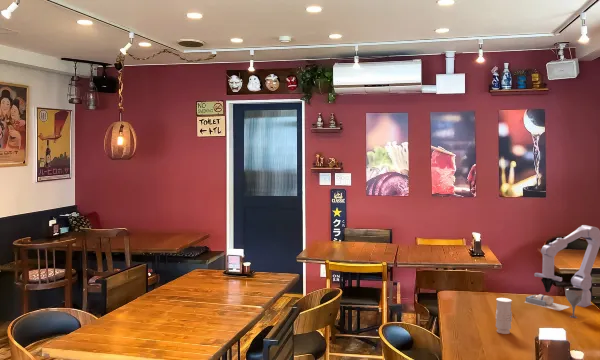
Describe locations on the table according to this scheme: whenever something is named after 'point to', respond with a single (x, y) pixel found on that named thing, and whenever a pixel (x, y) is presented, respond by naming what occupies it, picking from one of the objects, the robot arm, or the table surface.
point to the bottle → (544, 298)
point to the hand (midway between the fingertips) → (547, 291)
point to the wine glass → (573, 297)
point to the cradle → (544, 303)
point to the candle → (503, 315)
